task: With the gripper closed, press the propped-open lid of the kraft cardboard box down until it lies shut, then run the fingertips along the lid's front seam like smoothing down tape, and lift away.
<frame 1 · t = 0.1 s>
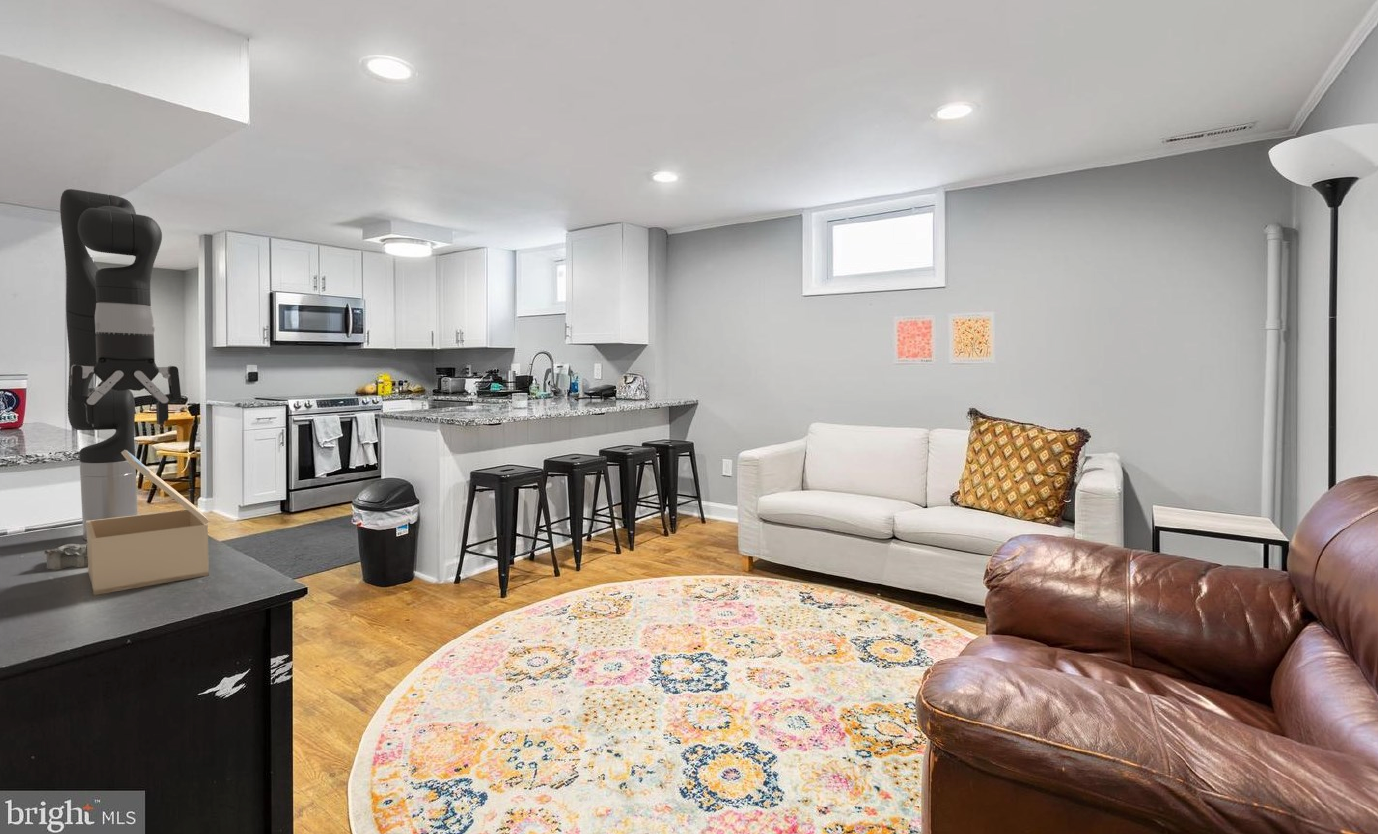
hand: (128, 425, 111), 29 cm above the table, fingers open, 8 cm apart
egg carton: (85, 564, 126), on the table
box lid: (164, 486, 122), point 16 cm above the table, hinge at 50.0°
cardboard box: (148, 573, 121), on the table
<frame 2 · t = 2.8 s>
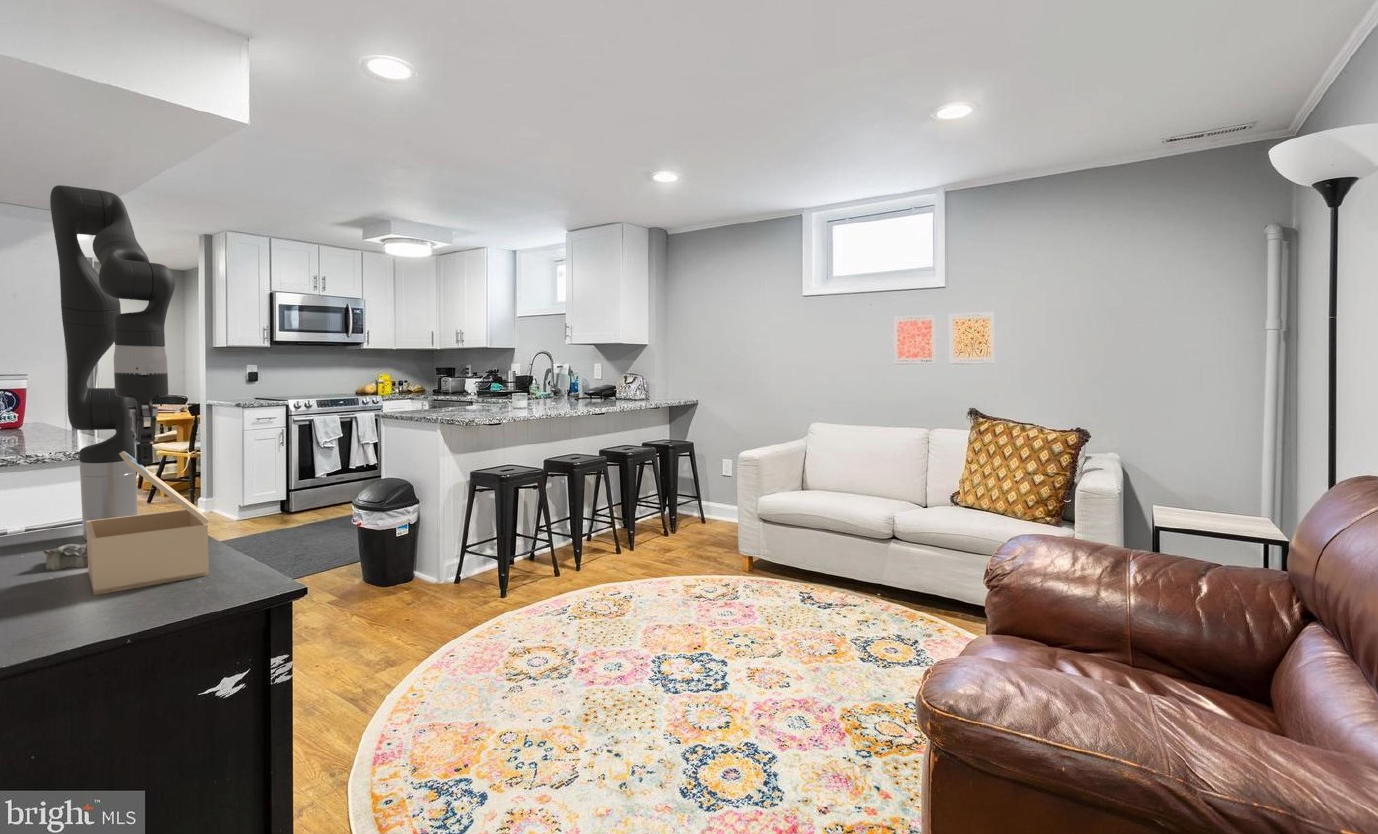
hand: (144, 463, 119), 21 cm above the table, fingers closed
box lid: (164, 486, 121), point 16 cm above the table, hinge at 48.8°, touching gripper
everything else where it was.
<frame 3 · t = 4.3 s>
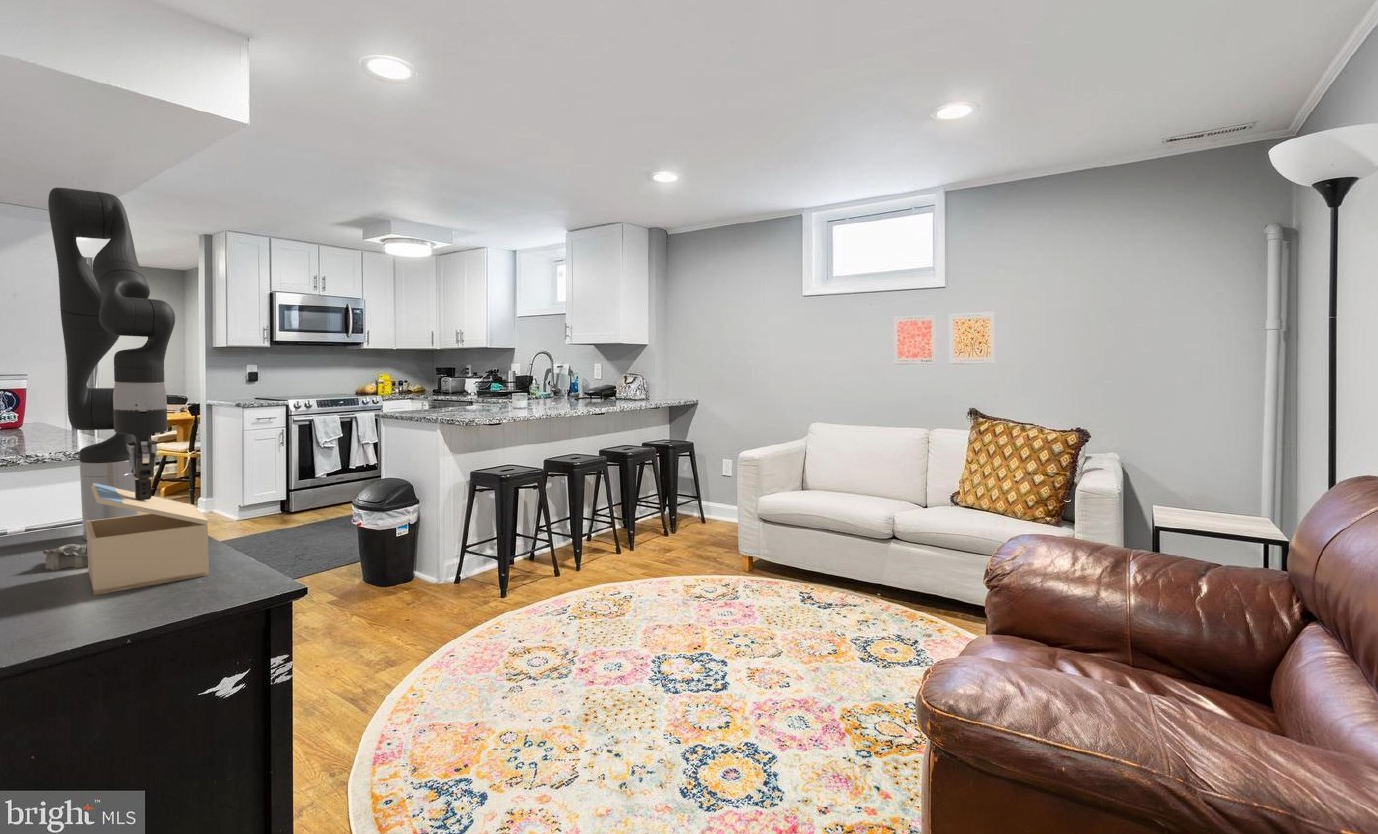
hand: (143, 499, 119), 14 cm above the table, fingers closed
box lid: (149, 503, 120), point 13 cm above the table, hinge at 22.6°, touching gripper
everything else where it was.
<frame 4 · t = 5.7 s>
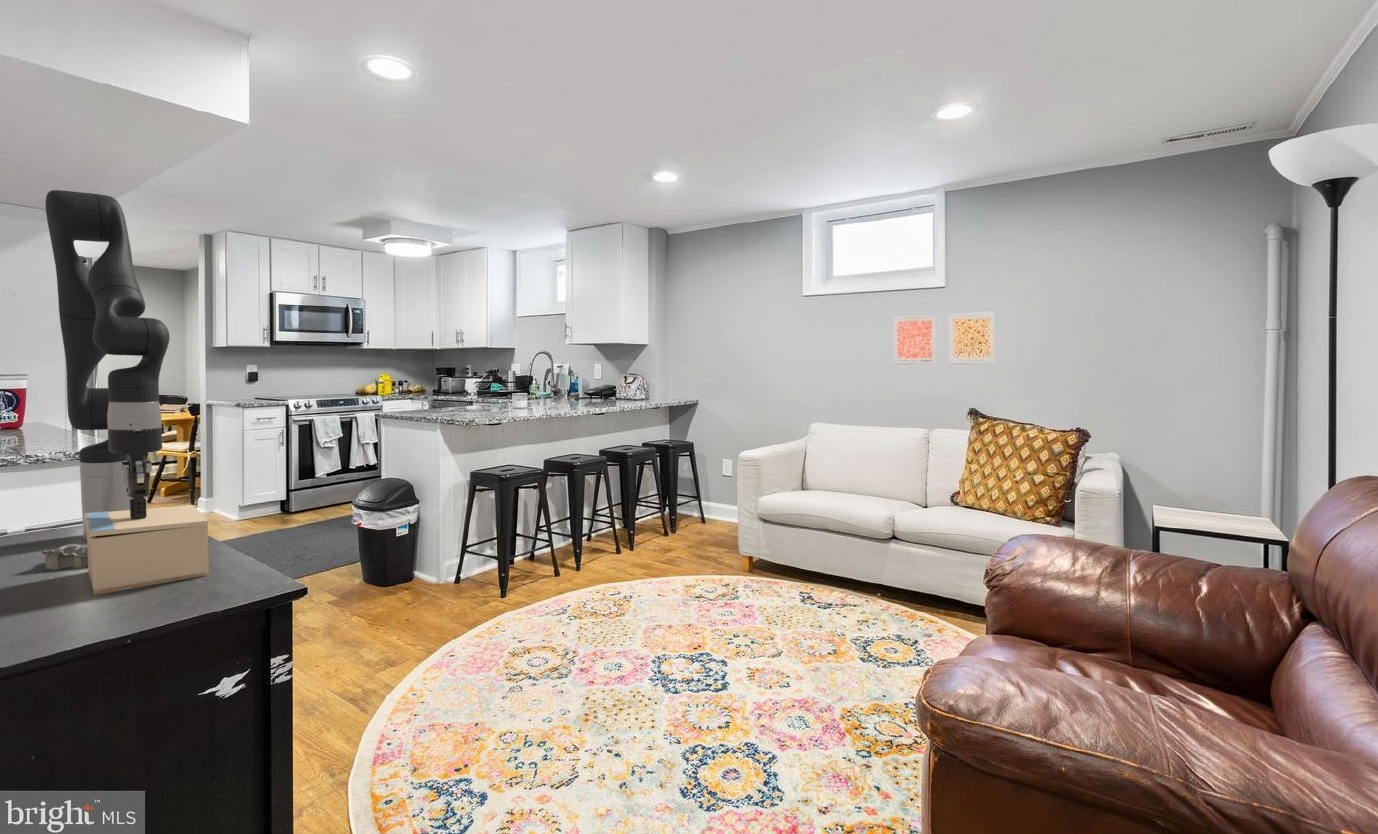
hand: (138, 518, 119), 11 cm above the table, fingers closed
box lid: (146, 519, 120), point 11 cm above the table, hinge at 2.0°, touching gripper
everything else where it was.
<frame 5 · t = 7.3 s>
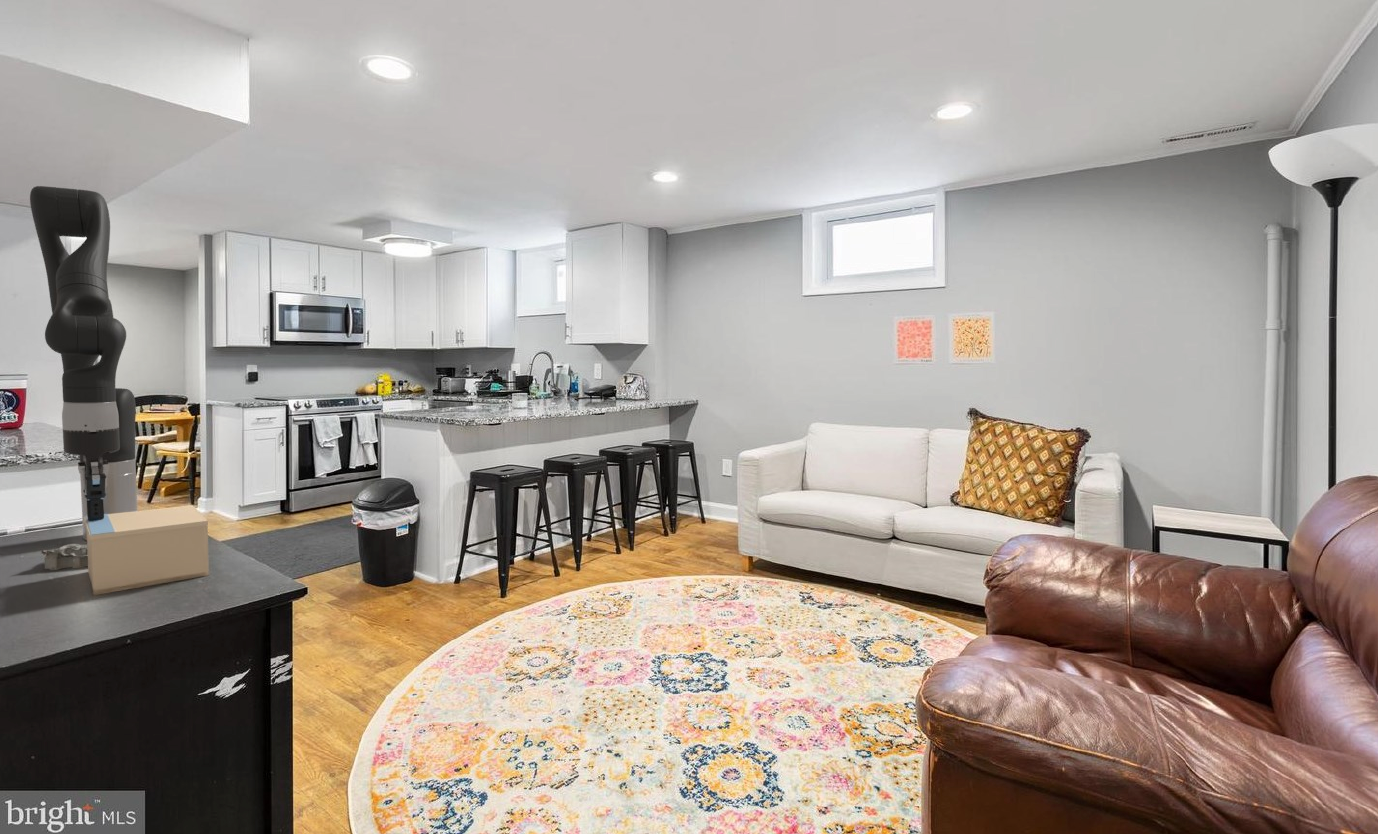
hand: (95, 519, 118), 11 cm above the table, fingers closed
box lid: (146, 520, 120), point 10 cm above the table, hinge at -0.1°, touching cardboard box
everything else where it was.
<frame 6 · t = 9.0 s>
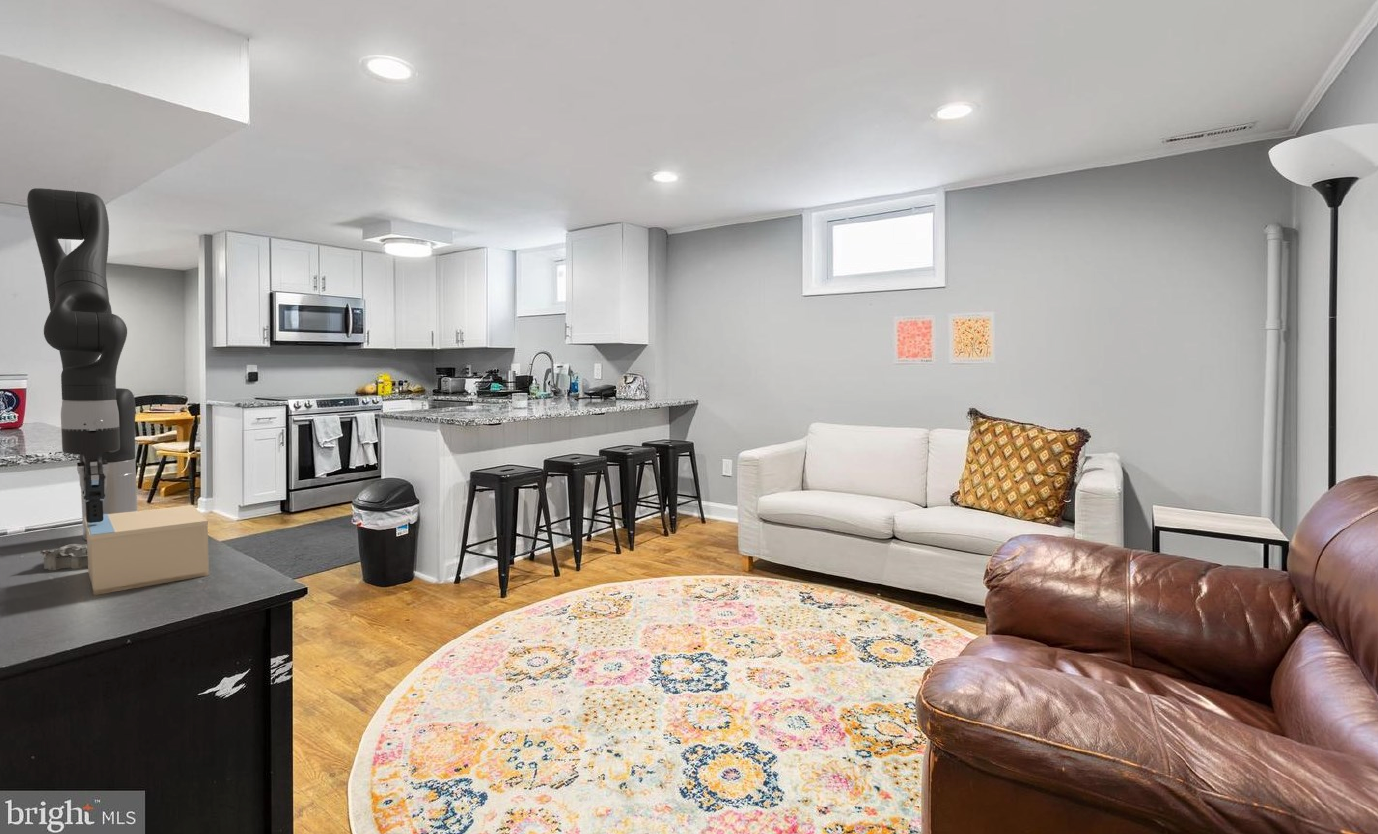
hand: (94, 521, 114), 11 cm above the table, fingers closed
nothing on the table moved.
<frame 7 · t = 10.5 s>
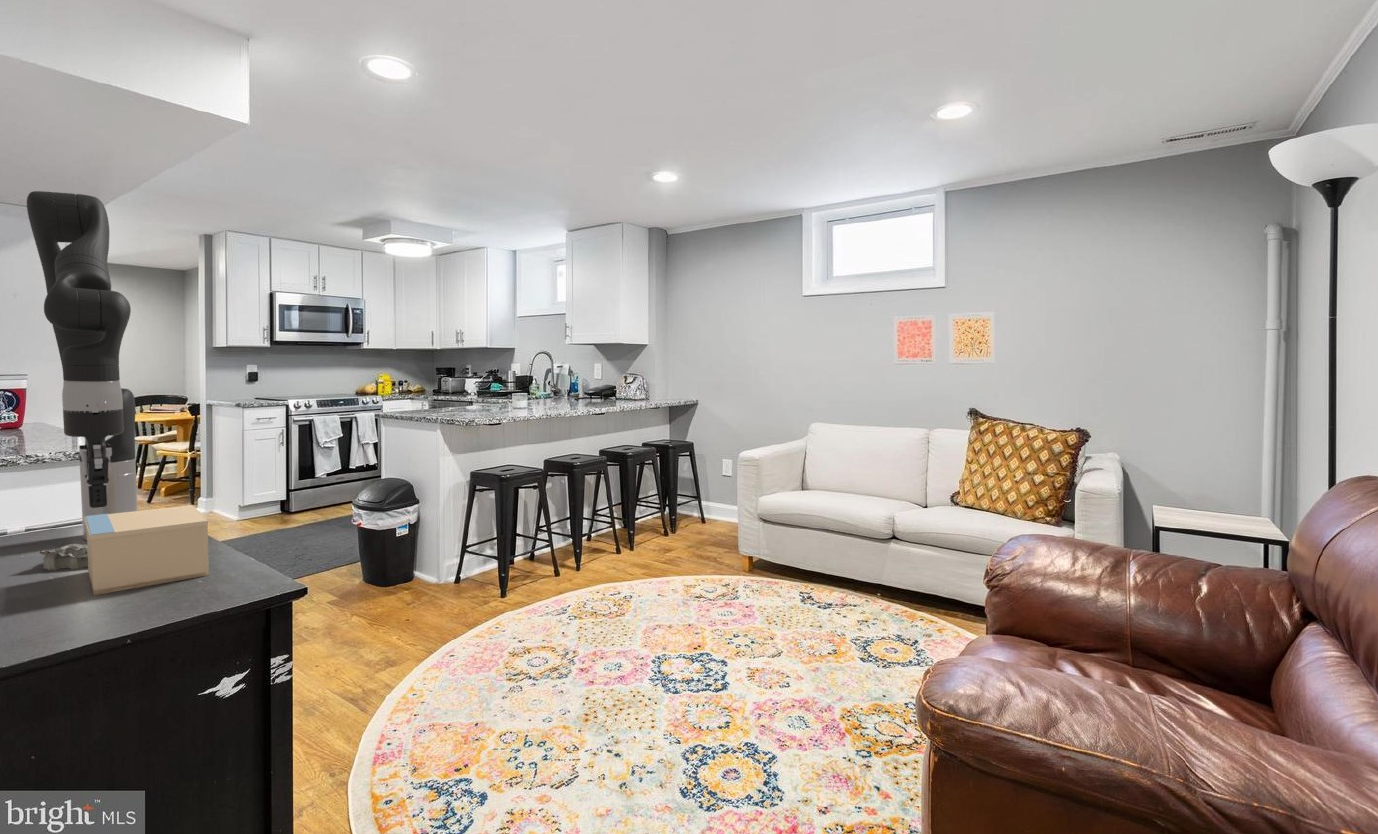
hand: (98, 506, 111), 15 cm above the table, fingers closed
nothing on the table moved.
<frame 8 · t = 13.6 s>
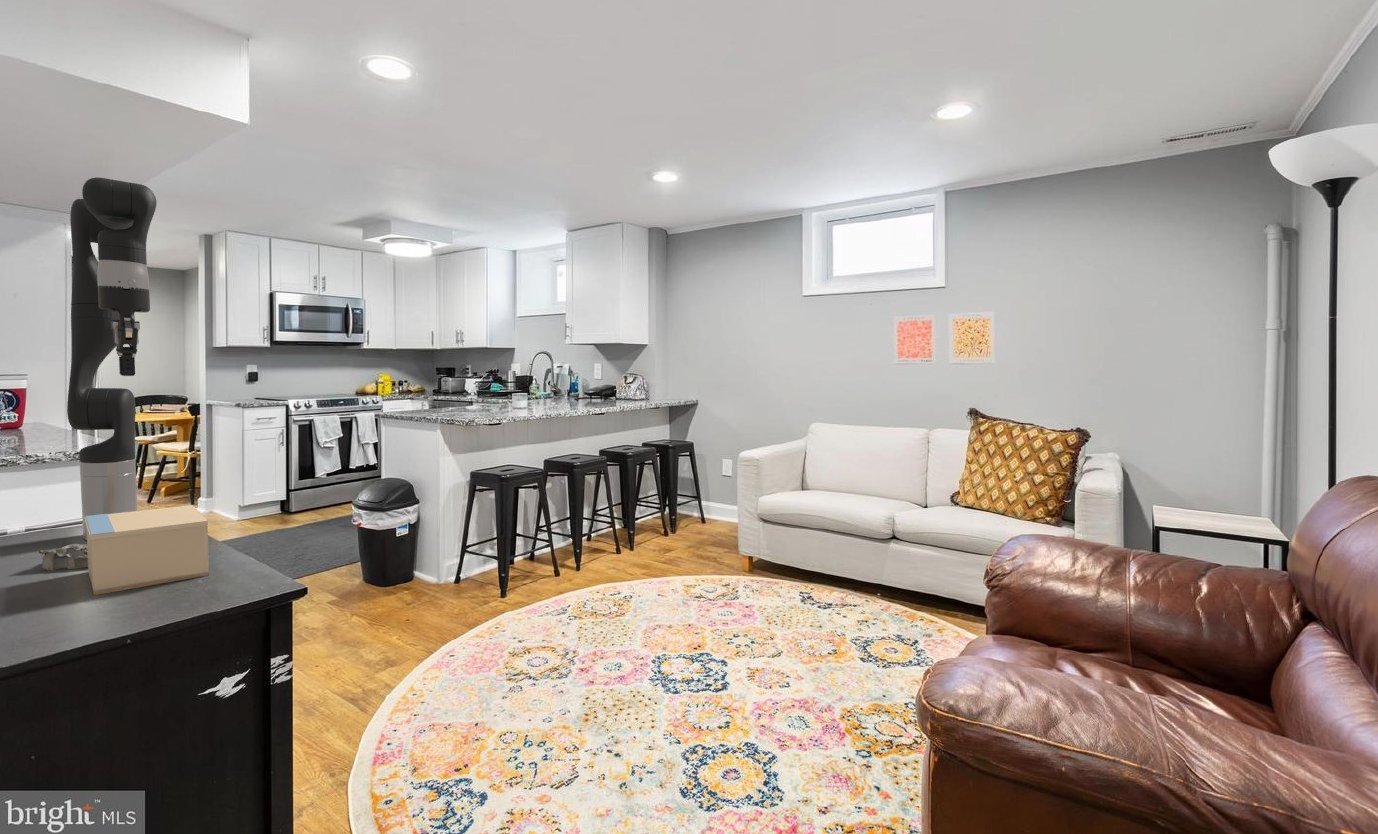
hand: (127, 375, 125), 37 cm above the table, fingers closed
at the end: box lid at +0° (first picture: +50°); egg carton moved 1.2 cm from its start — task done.
